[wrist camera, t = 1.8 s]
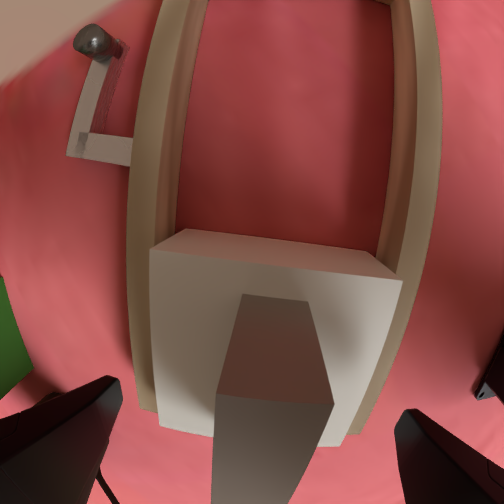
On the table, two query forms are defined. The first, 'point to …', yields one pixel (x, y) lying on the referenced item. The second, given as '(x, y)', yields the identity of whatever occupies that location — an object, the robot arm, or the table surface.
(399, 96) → the bay
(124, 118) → the table surface
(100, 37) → the crank handle
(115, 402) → the robot arm
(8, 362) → the hardback book
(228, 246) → the two-tone stepped block
